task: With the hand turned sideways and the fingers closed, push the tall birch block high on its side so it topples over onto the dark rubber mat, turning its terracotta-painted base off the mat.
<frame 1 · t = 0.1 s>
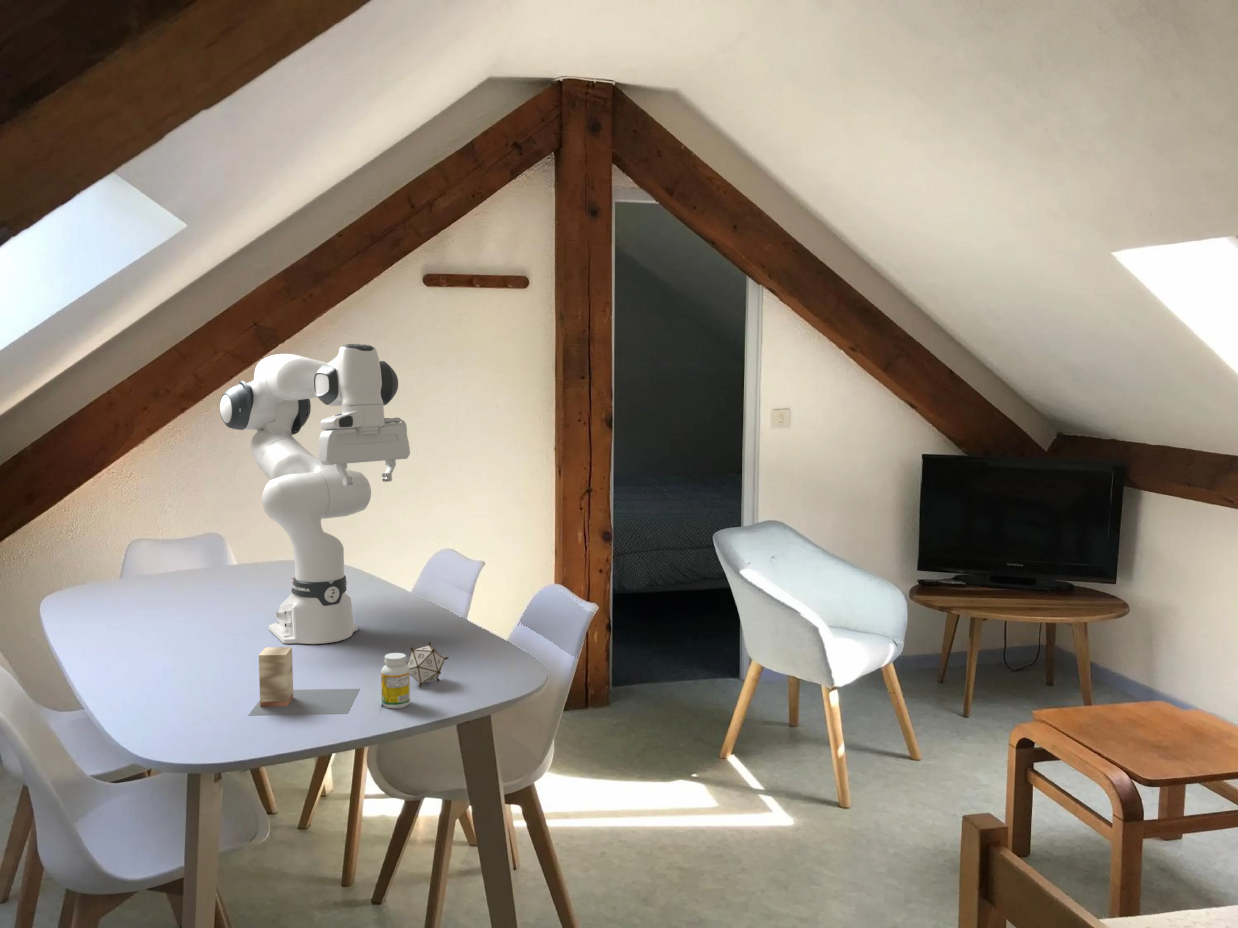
hand: (367, 483, 225), 39 cm above the table, tool pointing down, fingers open, 8 cm apart
rubber mat: (306, 704, 200), on the table
game die: (425, 684, 214), on the table
birch block: (276, 701, 200), point 1 cm above the table, touching rubber mat
supplement bottle: (395, 705, 201), on the table
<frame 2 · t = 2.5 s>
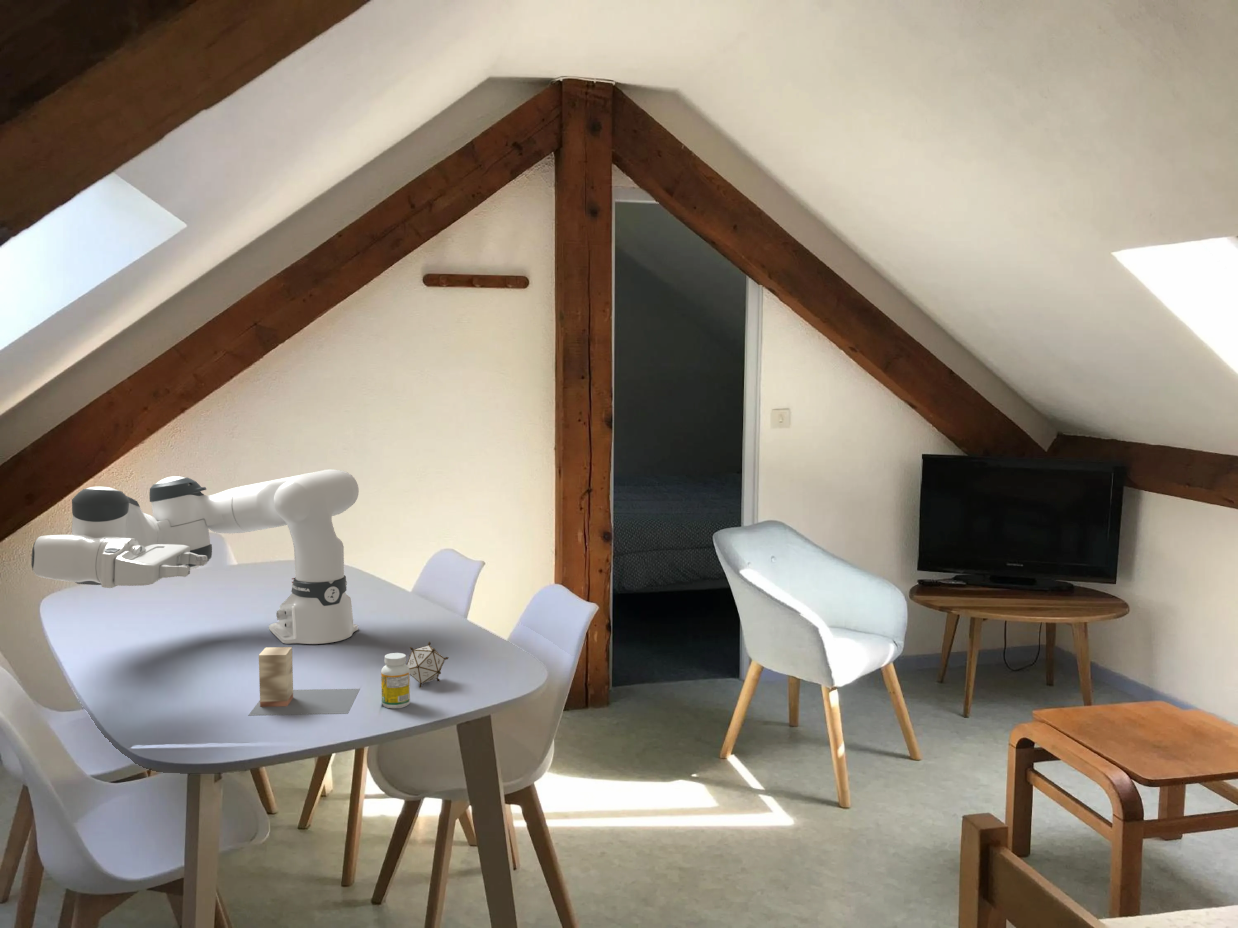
hand: (197, 565, 197), 27 cm above the table, tool horizontal, fingers open, 8 cm apart
nothing on the table moved.
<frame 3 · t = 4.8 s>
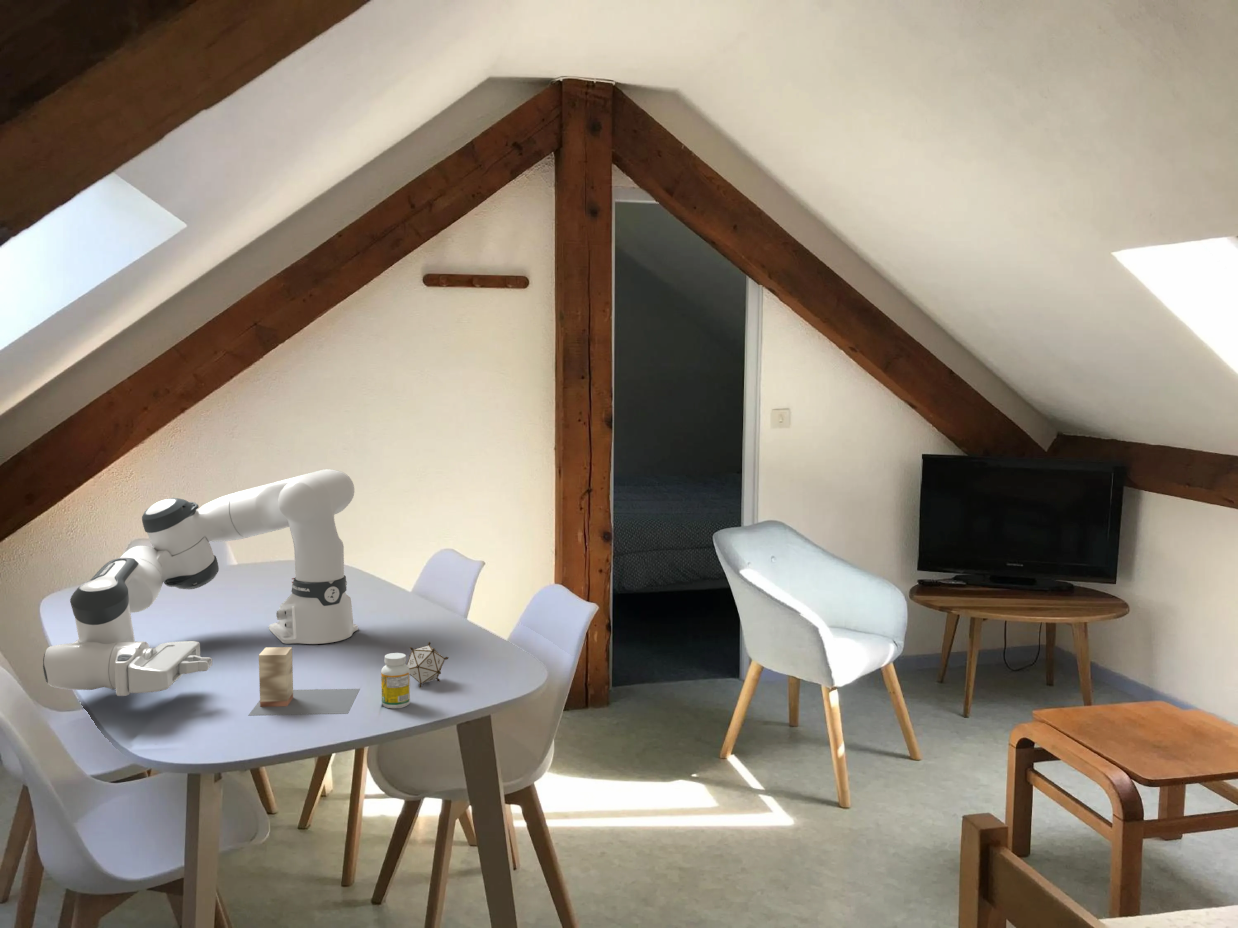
hand: (209, 664, 198), 8 cm above the table, tool horizontal, fingers closed
nothing on the table moved.
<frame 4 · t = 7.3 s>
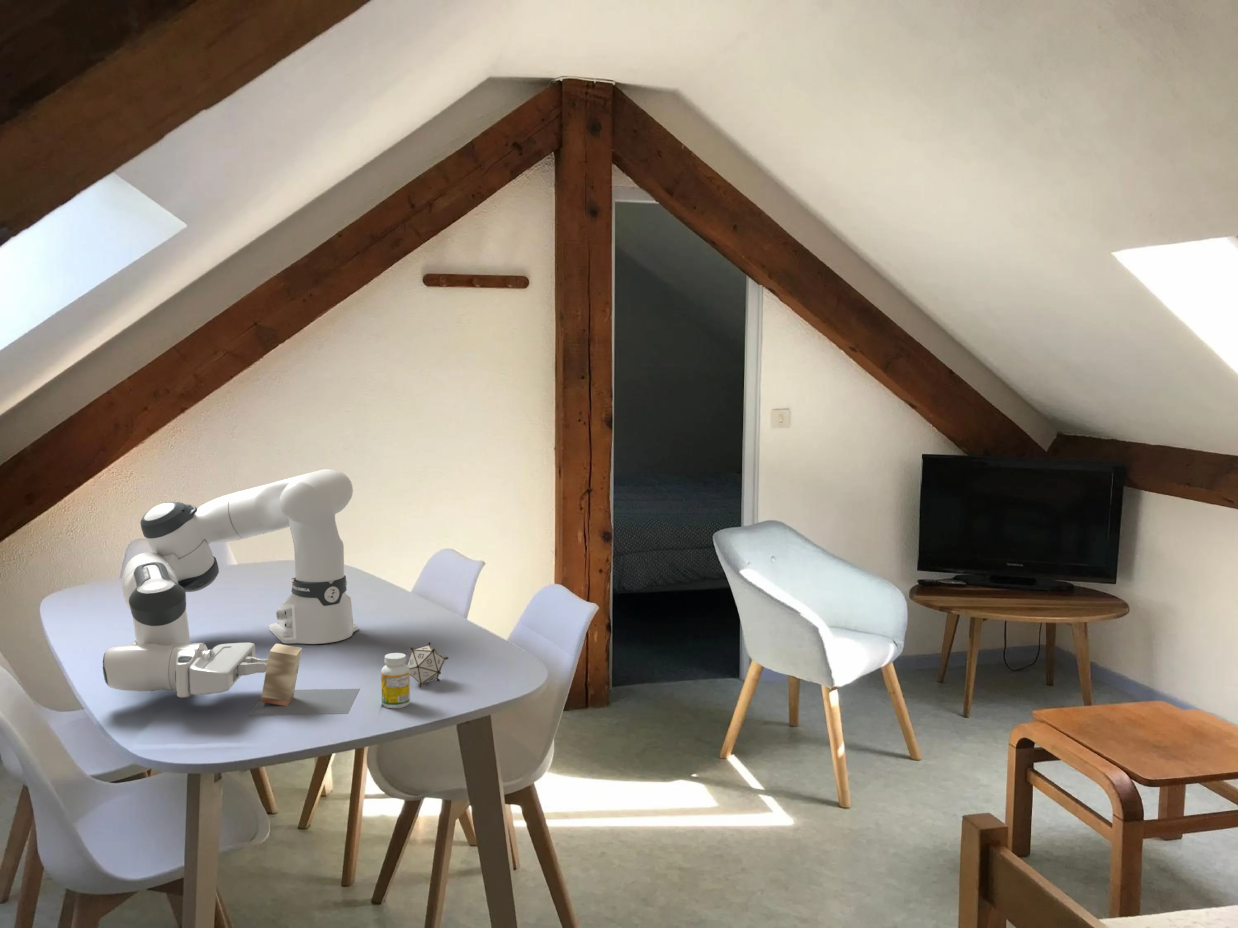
hand: (267, 665, 198), 8 cm above the table, tool horizontal, fingers closed, pressing on birch block
birch block: (277, 699, 200), point 1 cm above the table, tilted 11°, touching gripper, rubber mat
everything else where it was.
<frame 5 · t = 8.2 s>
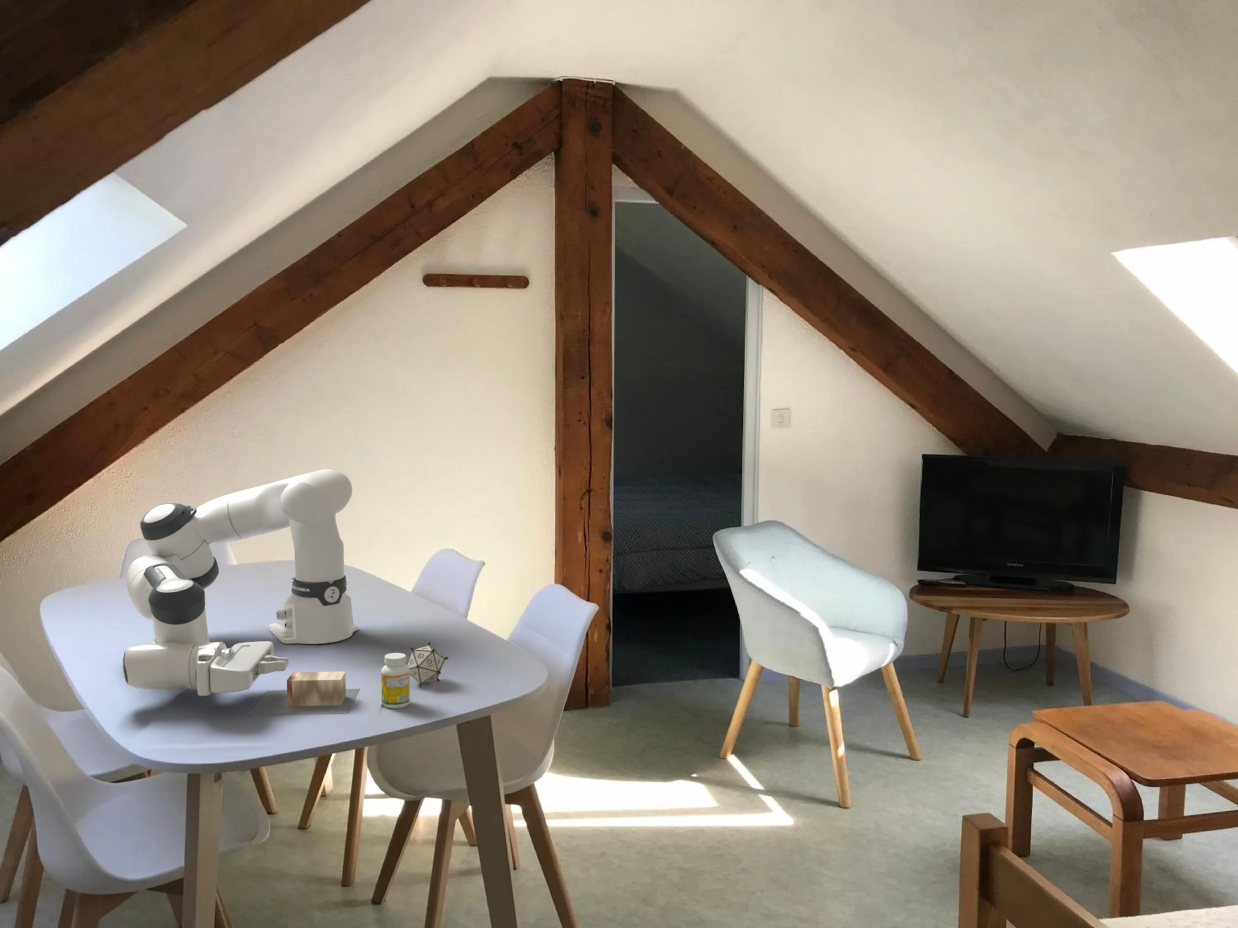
hand: (287, 664, 199), 8 cm above the table, tool horizontal, fingers closed
birch block: (290, 688, 200), point 3 cm above the table, tilted 90°, touching rubber mat
everything else where it was.
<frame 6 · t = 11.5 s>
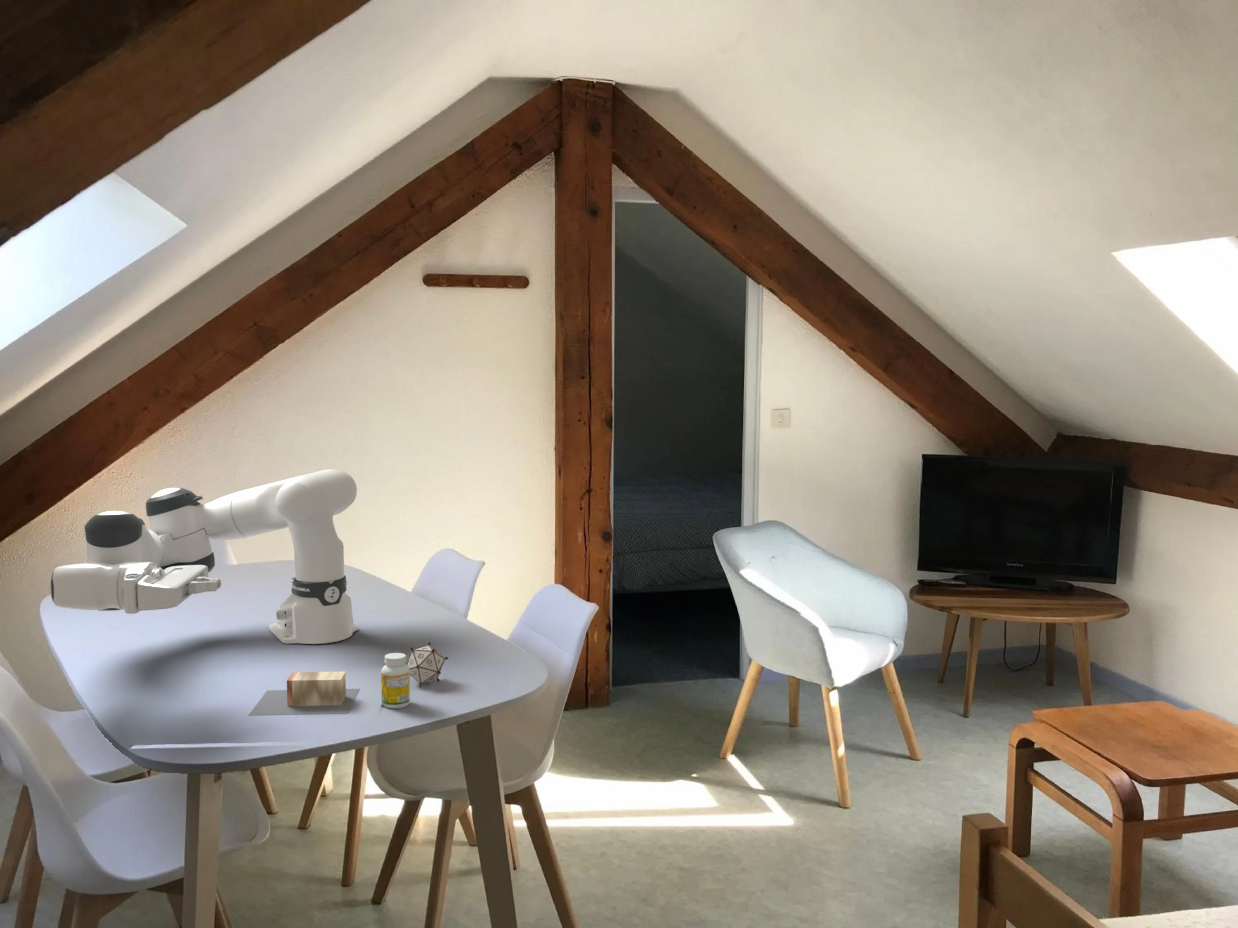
hand: (219, 584, 196), 24 cm above the table, tool horizontal, fingers closed
nothing on the table moved.
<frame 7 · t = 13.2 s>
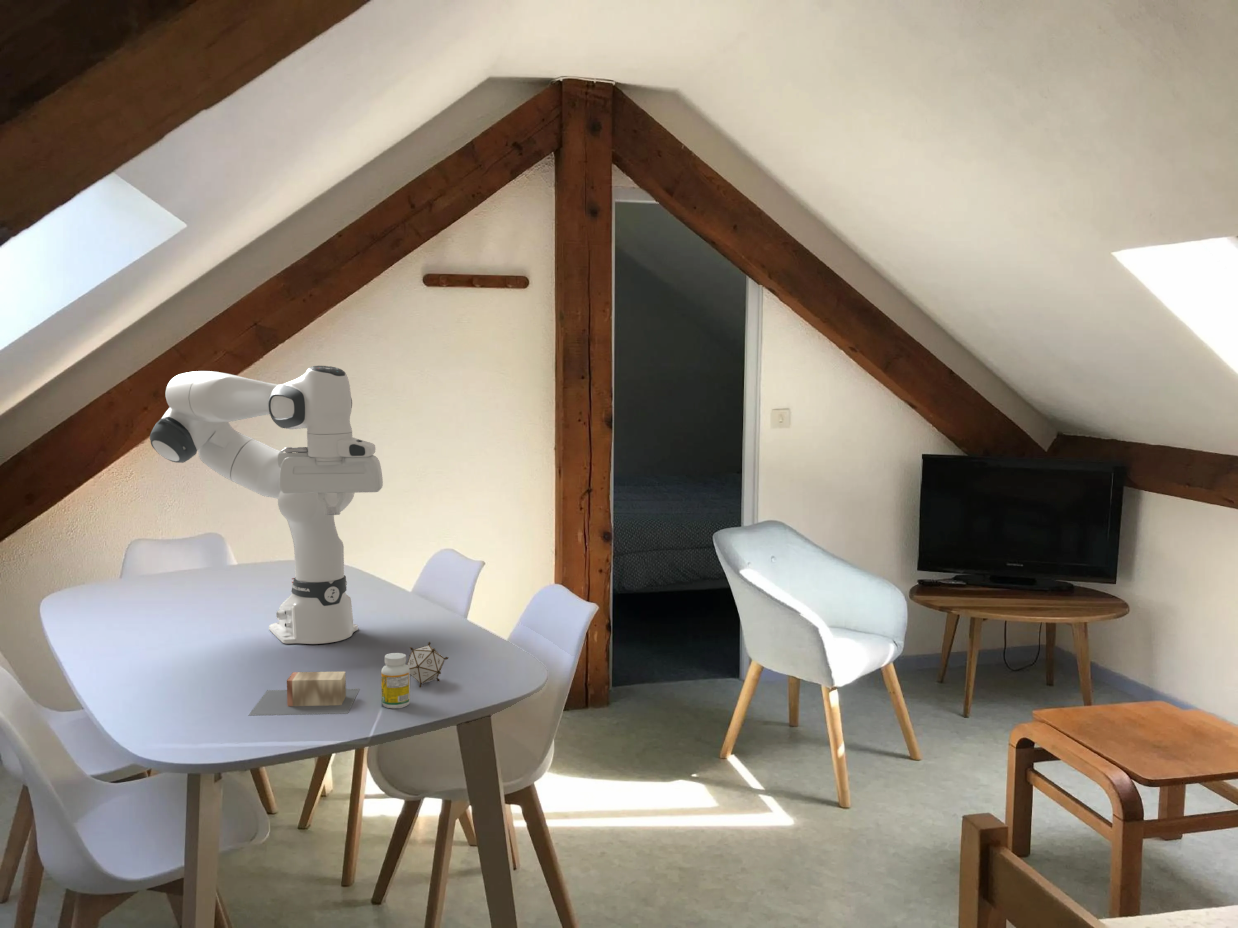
hand: (332, 514, 212), 34 cm above the table, tool pointing down, fingers closed
nothing on the table moved.
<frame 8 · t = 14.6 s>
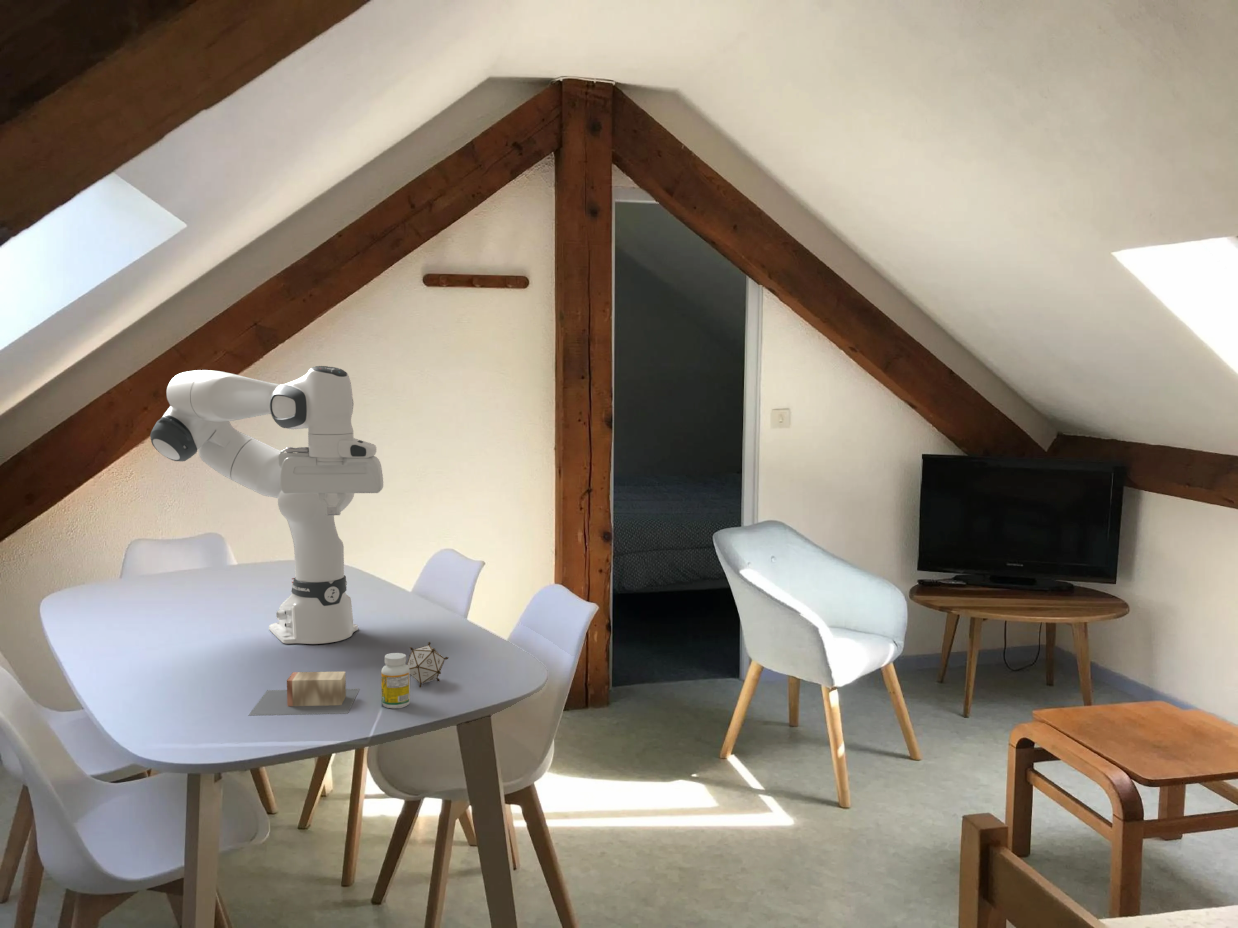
hand: (332, 514, 212), 34 cm above the table, tool pointing down, fingers closed
nothing on the table moved.
at the end: birch block tilted 90°; birch block inside the target area on the rubber mat (0.9 cm from its centre), point 3.1 cm above the rubber mat's base; birch block touching rubber mat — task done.
